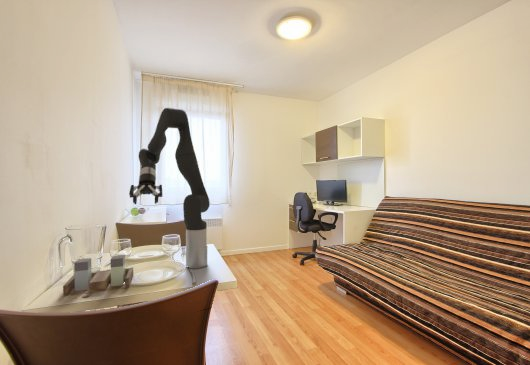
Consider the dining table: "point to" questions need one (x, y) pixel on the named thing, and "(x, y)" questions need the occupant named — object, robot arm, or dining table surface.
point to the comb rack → (98, 283)
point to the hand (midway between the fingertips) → (145, 202)
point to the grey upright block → (117, 270)
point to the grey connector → (82, 274)
